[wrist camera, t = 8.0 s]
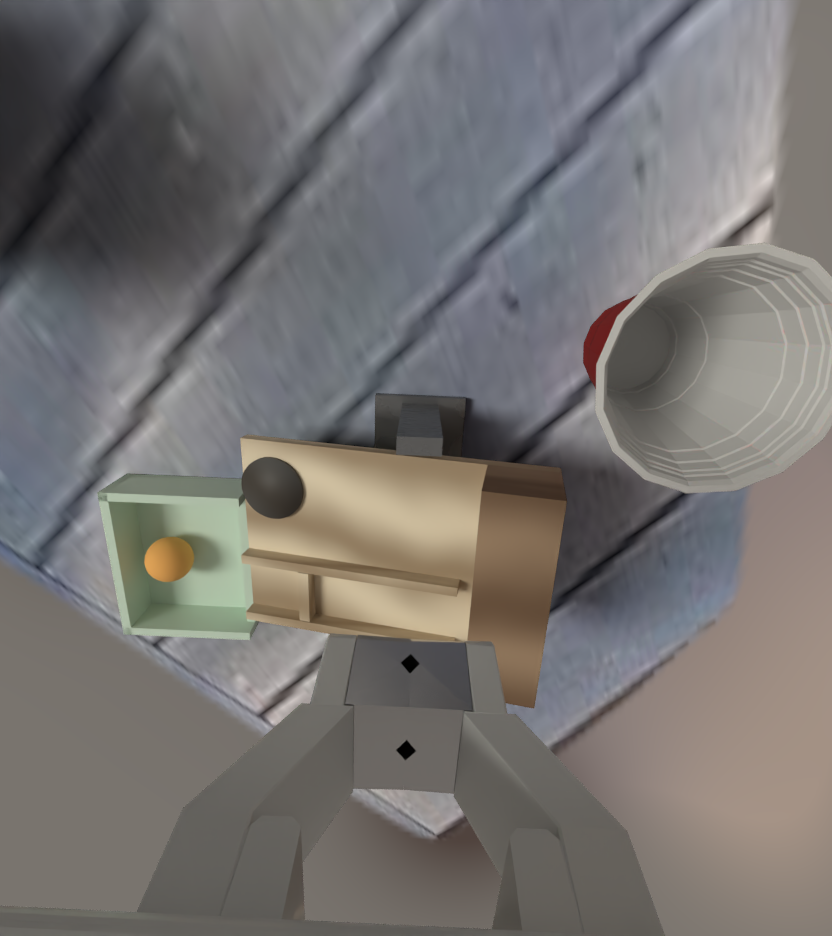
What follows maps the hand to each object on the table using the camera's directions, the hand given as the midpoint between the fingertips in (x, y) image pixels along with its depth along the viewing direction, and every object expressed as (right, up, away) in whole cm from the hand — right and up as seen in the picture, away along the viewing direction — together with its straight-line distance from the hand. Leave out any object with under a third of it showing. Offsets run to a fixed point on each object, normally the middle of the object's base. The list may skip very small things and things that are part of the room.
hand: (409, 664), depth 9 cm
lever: (-1, -1, +22) cm, 23 cm away
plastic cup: (+14, +12, +24) cm, 30 cm away
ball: (-18, -3, +27) cm, 32 cm away
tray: (-16, -2, +29) cm, 33 cm away
